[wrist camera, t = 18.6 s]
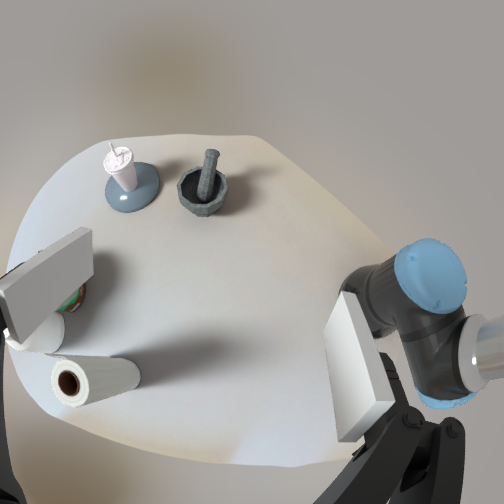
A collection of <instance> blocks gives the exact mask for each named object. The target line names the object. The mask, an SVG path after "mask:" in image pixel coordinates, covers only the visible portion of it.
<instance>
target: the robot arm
mask: <svg viewBox="0 0 504 504" xmlns="http://www.w3.org/2000/svg"><path fill="white" fill-rule="evenodd" d="M93 275H94V268H93V249H92V229H88V228H84V227H80V228H79V229H77V230H75V231H74V232H72V233H70V234H68V235H67V236H65V237H63V238H62V239H60V240H59V241H57V242H55V243H54V244H52V245H50V246H49V247H47V248H46V249H44V250H43V251H41V252H40V253H38V254H37V255H35V256H33V257H32V258H30V259H29V260H28V261H26V262H23V263H21V264H19V265H18V266H16V267H15V268H14V270H13V269H12V270H11V271H9V272H8V273H7V274H5V275H4V276H3V277H1V278H0V504H27V502H26V499H25V496H24V493H23V490H22V488H21V487H20V485H19V483H18V482H17V480H16V479H15V477H14V475H13V472H12V467H11V462H10V457H9V451H8V445H7V437H6V429H5V419H4V404H3V362H4V361H3V360H4V346H5V334H4V332H3V331H4V330H5V329H6V328H7V329H8V331H9V334H10V336H11V338H12V339H13V340H15V341H16V342H18V343H19V344H21V345H22V344H23V343H24V342H25V341H26V339H27V338H28V337H29V336H30V335H31V334H32V333H33V332H34V331H35V330H36V329H37V328H38V327H39V326H40V325H41V324H42V323H43V322H44V321H45V320H46V319H47V318H48V317H49V316H50V315H51V314H52V313H53V312H54V311H55V310H56V309H57V308H58V307H59V306H60V305H61V304H62V303H63V302H64V301H65V300H66V299H67V298H68V297H69V296H71V295H72V294H73V293H74V292H75V291H76V290H77V289H78V288H79V287H80V286H81V285H82V284H84V283H85V282H86V281H87V280H88V279H89V278H90V277H91V276H93ZM466 283H467V277H466V273H465V270H464V267H463V265H462V263H461V261H460V259H459V258H458V256H457V255H456V254H455V252H454V251H453V250H452V249H451V248H450V247H448V246H447V245H445V244H442V243H441V242H440V241H438V240H435V239H421V240H418V241H416V242H414V243H413V244H411V245H408V246H406V247H404V248H402V249H401V250H400V251H399V252H398V253H397V254H396V255H394V256H393V257H391V258H390V259H388V260H387V261H385V262H384V263H382V264H381V265H374V266H364V267H361V268H359V269H357V270H356V271H354V272H353V273H351V274H350V275H349V276H348V277H347V278H346V279H345V280H344V282H343V284H342V286H341V288H340V291H339V296H338V300H337V302H336V304H335V307H334V309H333V311H332V313H331V316H330V318H329V320H328V322H327V324H326V326H325V329H324V331H323V333H322V335H323V341H324V347H325V352H326V358H327V365H328V371H329V377H330V384H331V391H332V398H333V405H334V413H335V420H336V428H337V437H338V442H357V441H358V440H359V439H360V438H361V437H362V436H363V435H364V438H365V443H364V444H363V445H362V446H361V447H360V448H359V449H358V450H356V451H355V452H354V453H353V454H352V455H353V456H354V457H353V458H352V459H351V461H350V462H349V463H348V464H347V466H346V467H345V468H344V469H343V471H342V472H341V473H340V474H339V475H338V477H337V478H336V479H335V480H334V481H333V482H332V484H331V485H330V486H329V487H328V488H327V489H326V490H325V491H324V493H323V494H322V495H321V496H320V497H319V498H318V499H317V500H316V501H315V502H314V503H313V504H386V503H387V502H388V500H389V498H390V500H389V503H388V504H460V500H461V492H462V485H463V474H464V461H465V430H464V427H463V425H462V423H461V422H460V421H459V420H457V419H455V418H454V417H448V418H445V419H444V420H443V421H442V422H441V423H440V424H435V423H432V422H428V421H425V418H424V416H423V415H422V413H421V412H420V411H419V410H418V409H416V408H414V407H412V406H409V403H408V401H407V398H406V395H405V392H404V389H403V387H402V384H401V381H400V380H399V376H398V374H397V373H396V368H395V366H394V363H393V361H392V360H391V359H390V357H389V356H388V355H387V354H386V353H381V352H378V349H377V347H376V344H375V341H374V339H379V338H383V337H386V336H388V335H389V334H391V333H392V332H393V331H394V330H396V329H397V330H398V332H399V335H400V338H401V341H402V344H403V347H404V350H405V353H406V356H407V360H408V363H409V366H410V370H411V373H412V377H413V380H414V386H415V388H416V390H417V391H418V394H419V397H420V399H421V401H422V402H423V403H424V404H425V405H426V406H428V407H430V408H433V409H450V408H454V407H455V405H458V404H459V405H462V404H464V403H466V402H468V401H469V400H471V399H472V398H473V397H474V396H475V395H476V394H477V393H478V392H479V391H480V390H482V389H483V388H484V387H485V386H486V385H487V383H488V382H489V381H490V380H493V379H499V378H504V315H502V316H500V317H497V318H494V319H491V320H487V319H486V318H485V317H484V316H482V315H480V314H475V315H471V316H468V317H466V315H465V312H464V309H463V306H462V303H463V301H464V299H465V296H466V293H467V287H466V286H465V284H466Z"/></svg>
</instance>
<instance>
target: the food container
mask: <svg viewBox="0 0 504 504" xmlns="http://www.w3.org/2000/svg"><path fill="white" fill-rule="evenodd" d="M41 251H43V250H41ZM41 251H38V253H40V252H41ZM85 293H86V285H85V283H84V284H82V285H81V286H80V287H79V288H78V289H77V290H76V291H75V292H74V293H73V294H72V295H71V296H69V297H68V298H67V299H66V300H65V301H64V302H63V303H62V304H61V305H60V306H59V307H58V308H57V309H56V310H55V311H54V312H56V311H57V310H62V311H68V312H74V311H75V310H77V309H78V308H79V307H80V306H81V304H82V302H83V300H84V298H85Z"/></svg>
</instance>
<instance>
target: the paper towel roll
mask: <svg viewBox="0 0 504 504" xmlns="http://www.w3.org/2000/svg"><path fill="white" fill-rule="evenodd" d="M44 354H45V355H46V356H49V357H53V358H66V359H62V360H60V361H58V362H56V363H55V365H54V366H53V368H52V371H51V376H50V379H51V386H52V389H53V391H54V393H55V395H56V396H57V398H58V399H59V400H60V401H61V402H62V403H64V404H65V405H67V406H69V407H80V406H83V405H87V404H90V403H93V402H96V401H100V400H103V399H106V398H109V397H112V396H115V395H118V394H121V393H124V392H127V391H130V390H132V389H134V388H136V387H137V386H138V384H139V382H140V379H141V377H140V371H139V369H138V367H137V366H136V365H135V364H134V363H133V362H132V361H129V360H126V359H123V358H109V357H106V356H78V355H62V354H49V353H44Z"/></svg>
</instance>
